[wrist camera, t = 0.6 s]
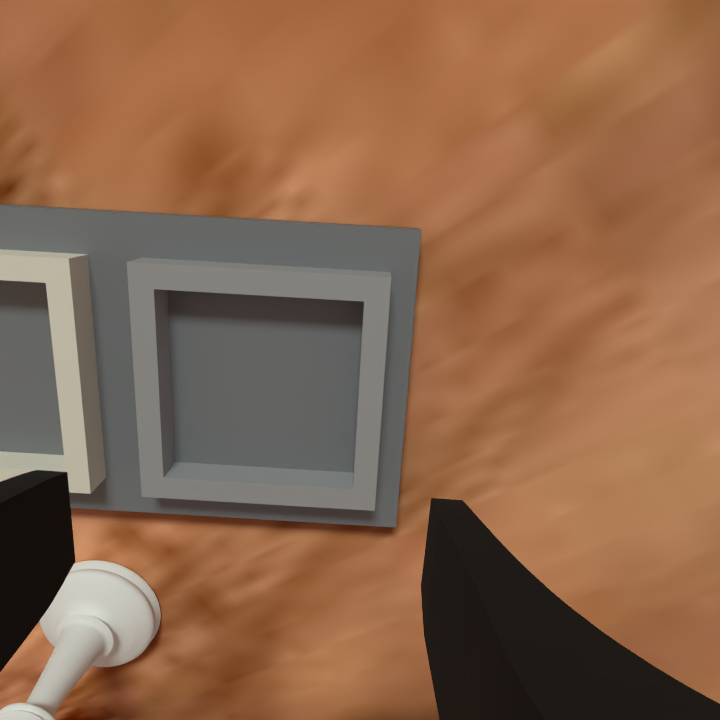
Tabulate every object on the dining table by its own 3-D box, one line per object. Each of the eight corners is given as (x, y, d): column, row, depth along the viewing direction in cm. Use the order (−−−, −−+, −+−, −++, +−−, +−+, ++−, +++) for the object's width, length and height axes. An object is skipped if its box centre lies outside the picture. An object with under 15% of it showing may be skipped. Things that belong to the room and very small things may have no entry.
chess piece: (184, 627, 24) (59, 915, 14) (93, 671, 25) (-82, 973, 15) (114, 540, 23) (-72, 792, 13) (21, 590, 24) (-217, 861, 14)
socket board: (394, 512, 22) (397, 546, 20) (-109, 482, 22) (-159, 513, 20) (418, 228, 19) (424, 232, 17) (-169, 193, 19) (-236, 194, 17)
